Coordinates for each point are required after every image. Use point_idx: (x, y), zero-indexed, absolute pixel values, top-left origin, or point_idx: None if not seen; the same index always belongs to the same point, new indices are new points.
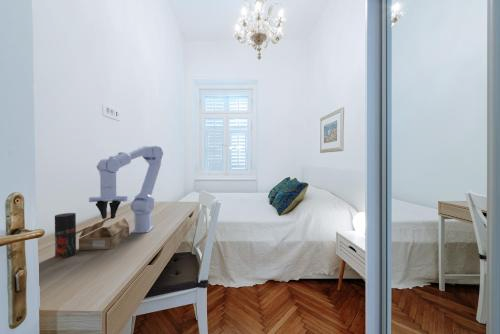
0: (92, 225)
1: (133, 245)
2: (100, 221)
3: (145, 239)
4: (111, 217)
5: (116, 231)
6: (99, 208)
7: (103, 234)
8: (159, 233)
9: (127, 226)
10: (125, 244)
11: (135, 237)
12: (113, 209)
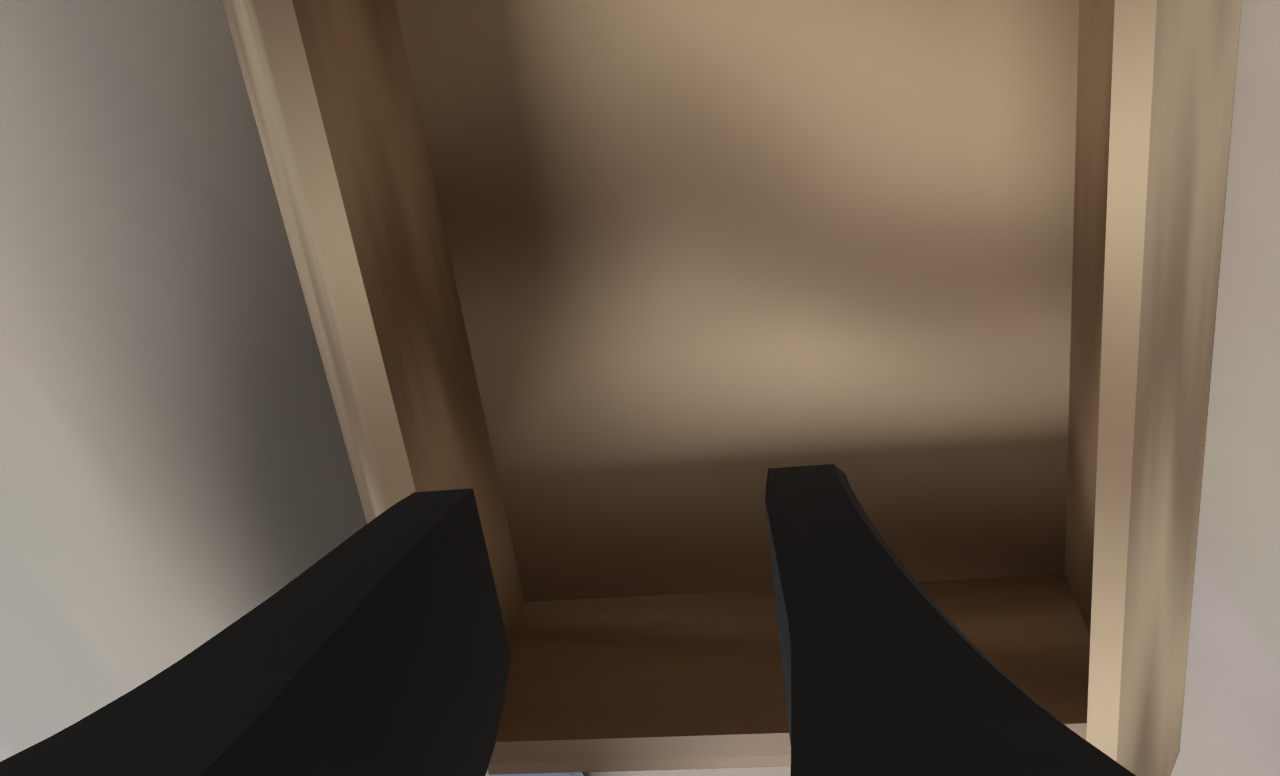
0: (1109, 165)
1: (8, 55)
2: (1095, 656)
3: (31, 410)
4: (420, 508)
5: (264, 144)
6: (1000, 756)
7: (1054, 603)
8: (14, 718)
9: (496, 760)
10: (229, 116)
11: (320, 527)
12: (68, 738)
